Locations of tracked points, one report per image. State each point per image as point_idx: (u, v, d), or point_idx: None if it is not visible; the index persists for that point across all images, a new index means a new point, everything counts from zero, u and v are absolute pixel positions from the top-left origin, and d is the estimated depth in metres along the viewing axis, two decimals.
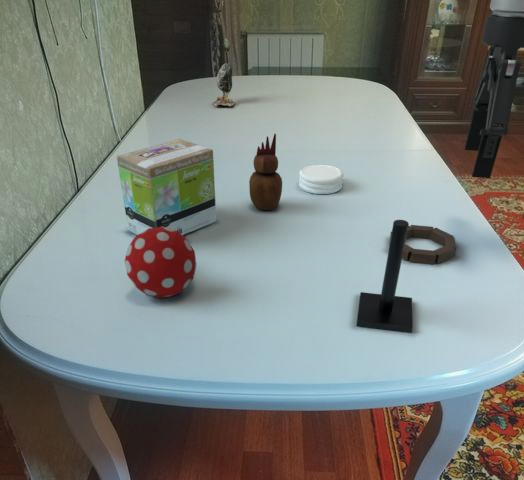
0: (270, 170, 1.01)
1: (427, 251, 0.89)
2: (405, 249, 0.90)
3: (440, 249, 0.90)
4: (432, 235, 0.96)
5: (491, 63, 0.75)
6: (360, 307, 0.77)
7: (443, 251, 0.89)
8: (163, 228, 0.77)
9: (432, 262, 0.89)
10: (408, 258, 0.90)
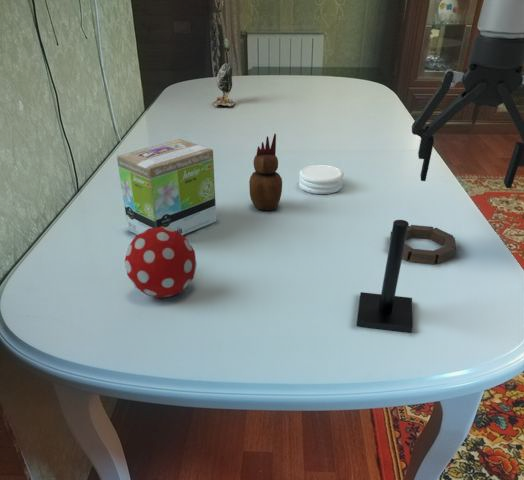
0: (270, 170, 1.01)
1: (427, 251, 0.89)
2: (405, 249, 0.90)
3: (440, 249, 0.90)
4: (432, 235, 0.96)
5: None
6: (360, 307, 0.77)
7: (443, 251, 0.89)
8: (163, 228, 0.77)
9: (432, 262, 0.89)
10: (408, 258, 0.90)
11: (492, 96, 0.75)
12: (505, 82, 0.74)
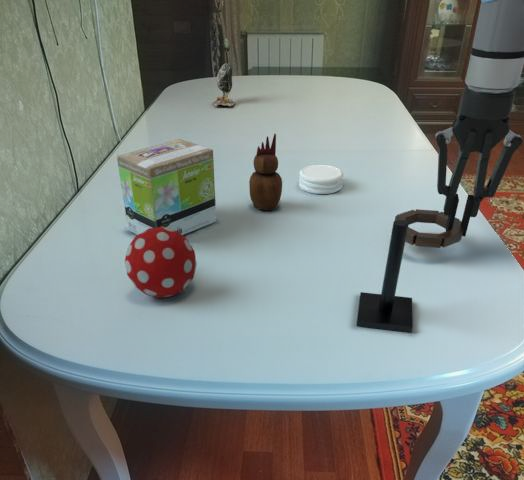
0: (270, 170, 1.01)
1: (433, 234, 0.87)
2: (410, 233, 0.88)
3: (446, 232, 0.88)
4: (438, 219, 0.93)
5: None
6: (360, 307, 0.77)
7: (449, 234, 0.87)
8: (163, 228, 0.77)
9: (438, 246, 0.87)
10: (413, 242, 0.88)
11: (481, 143, 0.80)
12: (495, 126, 0.78)
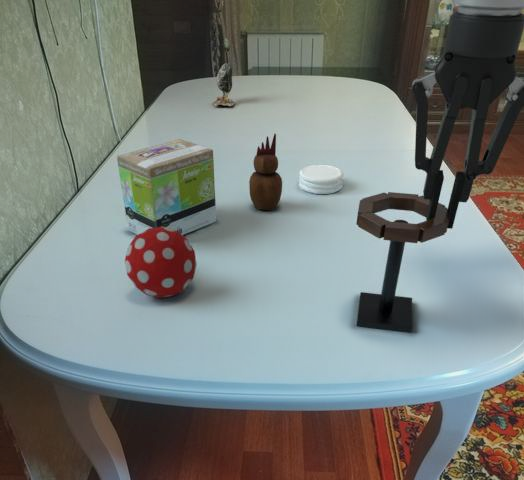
0: (270, 170, 1.01)
1: (408, 225, 0.63)
2: (377, 222, 0.64)
3: (426, 222, 0.64)
4: (417, 205, 0.70)
5: None
6: (360, 307, 0.77)
7: (430, 225, 0.63)
8: (163, 228, 0.77)
9: (415, 240, 0.63)
10: (381, 235, 0.64)
11: (475, 96, 0.56)
12: (496, 69, 0.54)
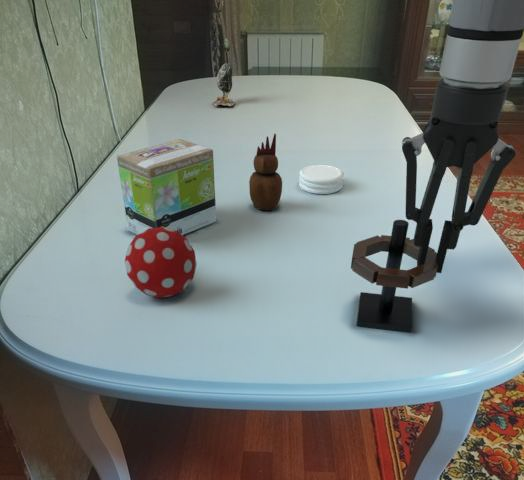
0: (270, 170, 1.01)
1: (399, 271, 0.67)
2: (370, 268, 0.68)
3: (416, 268, 0.68)
4: (408, 249, 0.74)
5: None
6: (360, 307, 0.77)
7: (419, 271, 0.67)
8: (163, 228, 0.77)
9: (405, 286, 0.67)
10: (374, 280, 0.68)
11: (461, 156, 0.60)
12: (480, 133, 0.58)
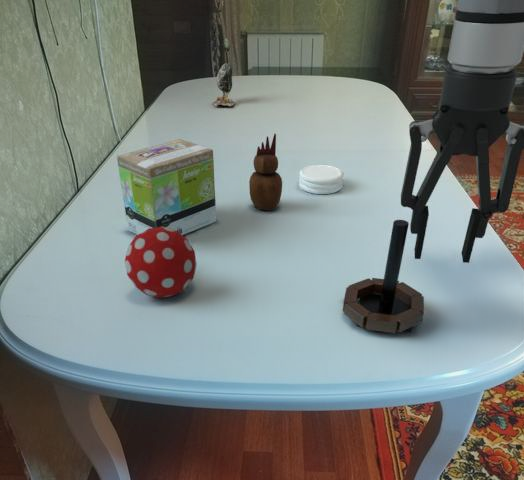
0: (270, 170, 1.01)
1: (387, 316, 0.72)
2: (360, 313, 0.73)
3: (403, 314, 0.73)
4: (397, 292, 0.78)
5: None
6: None
7: (406, 317, 0.72)
8: (163, 228, 0.77)
9: (393, 330, 0.72)
10: (364, 324, 0.73)
11: (471, 143, 0.59)
12: (489, 121, 0.57)
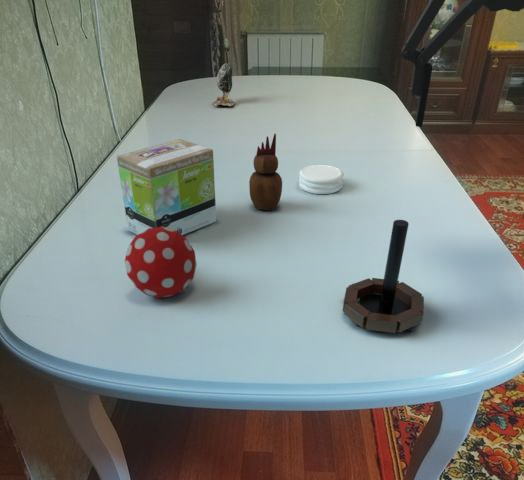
0: (270, 170, 1.01)
1: (387, 316, 0.72)
2: (360, 313, 0.73)
3: (403, 314, 0.73)
4: (397, 292, 0.78)
5: None
6: None
7: (406, 317, 0.72)
8: (163, 228, 0.77)
9: (393, 330, 0.72)
10: (364, 324, 0.73)
11: None
12: None
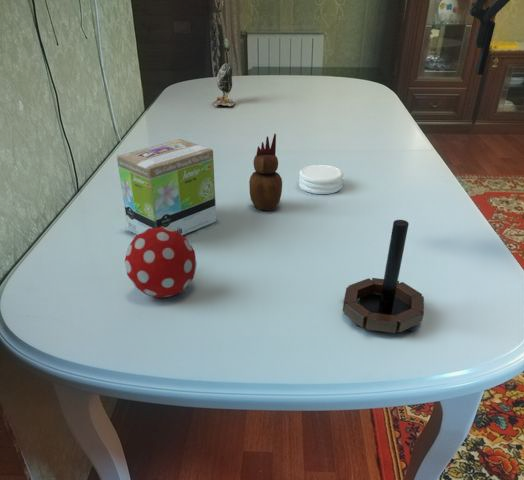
0: (270, 170, 1.01)
1: (387, 316, 0.72)
2: (360, 313, 0.73)
3: (403, 314, 0.73)
4: (397, 292, 0.78)
5: None
6: None
7: (406, 317, 0.72)
8: (163, 228, 0.77)
9: (393, 330, 0.72)
10: (364, 324, 0.73)
11: None
12: None
